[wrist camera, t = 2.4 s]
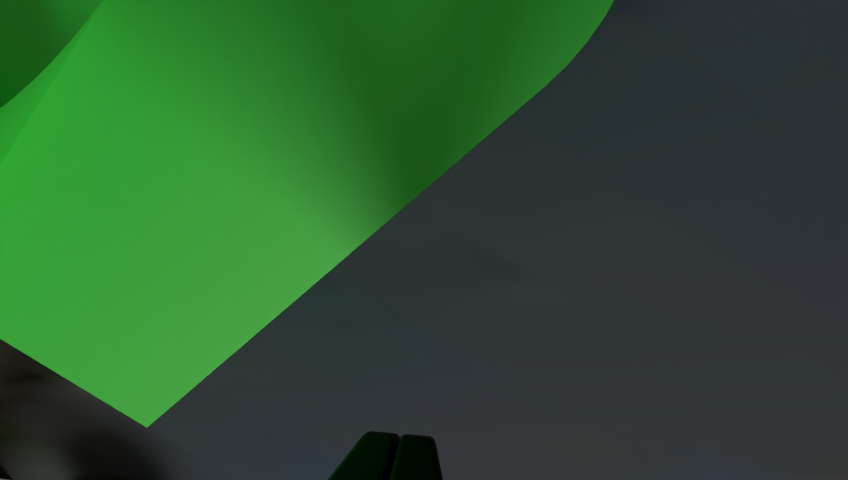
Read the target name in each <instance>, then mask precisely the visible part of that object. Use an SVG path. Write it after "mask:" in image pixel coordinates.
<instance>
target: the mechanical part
mask: <svg viewBox="0 0 848 480" xmlns="http://www.w3.org/2000/svg"><path fill="white" fill-rule="evenodd" d="M613 1H614V0H0V339H2V340H3V341H5V342H7V343H8V344H10V345H11V346H13V347H15V348H16V349H18V350H20V351H21V352H23V353H25V354H26V355H28V356H30V357H31V358H33V359H35V360H36V361H38V362H40V363H41V364H43V365H44V366H46V367H48V368H49V369H51V370H53V371H54V372H56V373H58V374H59V375H61V376H63V377H64V378H66V379H68V380H69V381H71V382H73V383H74V384H76V385H77V386H79V387H81V388H82V389H84V390H86V391H87V392H89V393H91V394H92V395H94V396H96V397H97V398H99V399H101V400H102V401H104V402H105V403H107V404H109V405H110V406H112V407H114V408H115V409H117V410H119V411H120V412H122V413H124V414H125V415H127V416H129V417H130V418H132V419H134V420H135V421H137V422H138V423H140V424H142V425H143V426H145V427H148V426H149V425H151V424H152V423H153V422H154V421H155V420H156V419H158V418H159V417H160V416H161V415H162V414H163V413H165V412H166V411H167V410H168V409H169V408H170V407H172V406H173V405H174V404H175V403H176V402H177V401H179V400H180V399H181V398H182V397H183V396H184V395H186V394H187V393H188V392H189V391H190V390H191V389H193V388H194V387H195V386H196V385H197V384H198V383H200V382H201V381H202V380H203V379H204V378H205V377H207V376H208V375H209V374H210V373H211V372H212V371H214V370H215V369H216V368H217V367H218V366H219V365H221V364H222V363H223V362H224V361H225V360H226V359H228V358H229V357H230V356H231V355H232V354H233V353H235V352H236V351H237V350H238V349H239V348H240V347H242V346H243V345H244V344H245V343H246V342H247V341H249V340H250V339H251V338H252V337H253V336H254V335H256V334H257V333H258V332H259V331H260V330H261V329H263V328H264V327H265V326H266V325H267V324H268V323H270V322H271V321H272V320H273V319H274V318H275V317H277V316H278V315H279V314H280V313H281V312H282V311H284V310H285V309H286V308H287V307H288V306H289V305H291V304H292V303H293V302H294V301H295V300H296V299H298V298H299V297H300V296H301V295H302V294H303V293H305V292H306V291H307V290H308V289H309V288H310V287H312V286H313V285H314V284H315V283H316V282H317V281H319V280H320V279H321V278H322V277H323V276H324V275H326V274H327V273H328V272H329V271H330V270H331V269H333V268H334V267H335V266H336V265H337V264H338V263H340V262H341V261H342V260H343V259H344V258H345V257H347V256H348V255H349V254H350V253H351V252H352V251H354V250H355V249H356V248H357V247H358V246H359V245H361V244H362V243H363V242H364V241H365V240H366V239H368V238H369V237H370V236H371V235H372V234H373V233H375V232H376V231H377V230H378V229H379V228H380V227H381V226H383V225H384V224H385V223H386V222H387V221H388V220H390V219H391V218H392V217H393V216H394V215H395V214H397V213H398V212H399V211H400V210H401V209H402V208H404V207H405V206H406V205H407V204H408V203H409V202H411V201H412V200H413V199H414V198H415V197H416V196H418V195H419V194H420V193H421V192H422V191H423V190H425V189H426V188H427V187H428V186H429V185H430V184H432V183H433V182H434V181H435V180H436V179H437V178H439V177H440V176H441V175H442V174H443V173H444V172H446V171H447V170H448V169H449V168H450V167H451V166H453V165H454V164H455V163H456V162H457V161H458V160H460V159H461V158H462V157H463V156H464V155H465V154H467V153H468V152H469V151H470V150H471V149H472V148H474V147H475V146H476V145H477V144H478V143H479V142H481V141H482V140H483V139H484V138H485V137H486V136H488V135H489V134H490V133H491V132H492V131H493V130H495V129H496V128H497V127H498V126H499V125H500V124H502V123H503V122H504V121H505V120H506V119H507V118H509V117H510V116H511V115H512V114H513V113H514V112H516V111H517V110H518V109H519V108H520V107H521V106H523V105H524V104H525V103H526V102H527V101H528V100H530V99H531V98H532V97H533V96H534V95H535V94H537V93H538V92H539V91H540V90H541V89H542V88H544V87H545V86H546V85H547V84H548V83H549V82H550V81H551V80H552V79H553V78H554V77H555V76H556V75H557V74H559V73H560V72H561V71H562V70H563V69H564V68H565V67H566V66H567V65H568V64H569V63H570V61H571V60H572V59H573V58H574V57H575V56H576V54H577V53H578V52H579V51H580V50H581V49H582V47H583V46H584V45H585V44H586V43H587V41H588V40H589V39H590V37H591V36H592V34H593V33H594V31H595V30H596V29H597V27H598V26H599V24H600V23H601V21H602V20H603V19H604V17H605V16H606V14H607V12H608V10H609V9H610V7H611V5H612V3H613Z"/></svg>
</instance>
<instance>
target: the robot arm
mask: <svg viewBox="0 0 848 480" xmlns="http://www.w3.org/2000/svg"><path fill="white" fill-rule="evenodd" d="M328 480H443V478H442V473H441V468H440V463H439V458H438V453H437V448H436V443H435V440H434V439H433V438H432V437H431V436H422V435H410V434H406V435H403V436H401V438H400V437H399V435H397V434H395V433H386V432H374V431H371V432H367V433H366V434H364V435H363V436H362V437H361V438H360V440H359V441H358V442H357V443H356V445H355V446H354V447H353V448H352V450H351V451H350V452H349V454H348V455H347V456H346V457H345V459H344V460H343V461H342V462H341V464H340V465H339V466H338V467H337V469H336V470H335V471H334V473H333V474H332V475H331V476H330V478H329V479H328Z"/></svg>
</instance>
